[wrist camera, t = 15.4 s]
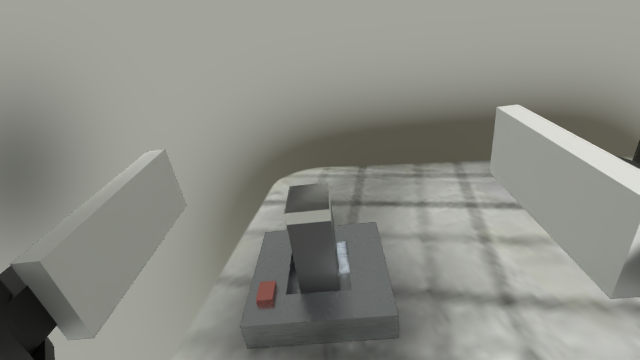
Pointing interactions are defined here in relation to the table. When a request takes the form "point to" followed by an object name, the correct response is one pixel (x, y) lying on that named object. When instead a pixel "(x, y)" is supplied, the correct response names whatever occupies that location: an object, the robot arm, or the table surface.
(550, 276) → the table surface
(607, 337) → the table surface
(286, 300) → the socket block
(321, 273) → the plug
